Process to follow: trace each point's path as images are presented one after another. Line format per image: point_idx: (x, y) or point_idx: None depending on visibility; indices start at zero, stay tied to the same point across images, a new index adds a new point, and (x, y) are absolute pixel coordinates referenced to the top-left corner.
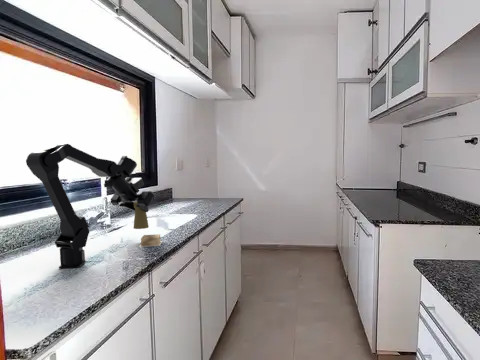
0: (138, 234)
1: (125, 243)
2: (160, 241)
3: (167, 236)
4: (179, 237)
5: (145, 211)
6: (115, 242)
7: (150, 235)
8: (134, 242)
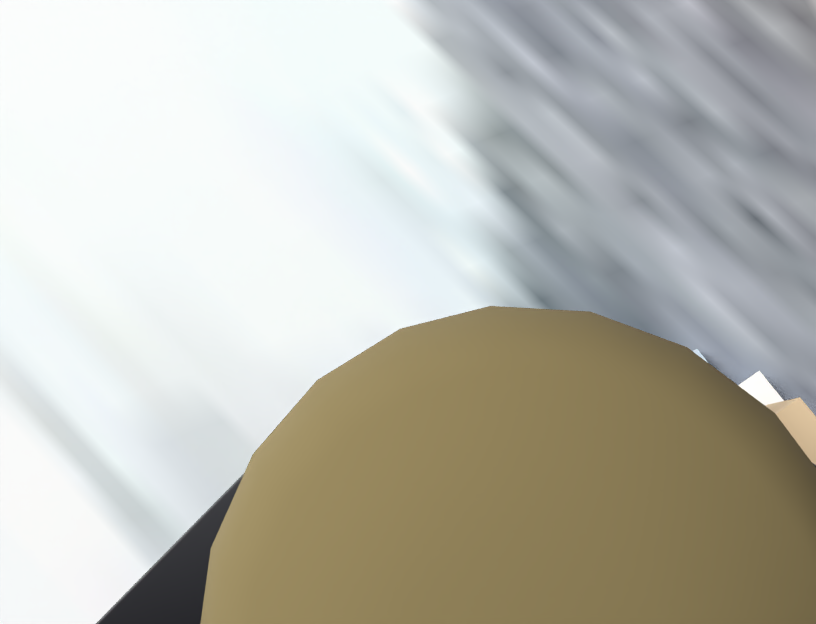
0: (68, 134)
1: None
2: None
3: (525, 74)
4: (727, 56)
5: None
6: (98, 604)
7: None
8: None
